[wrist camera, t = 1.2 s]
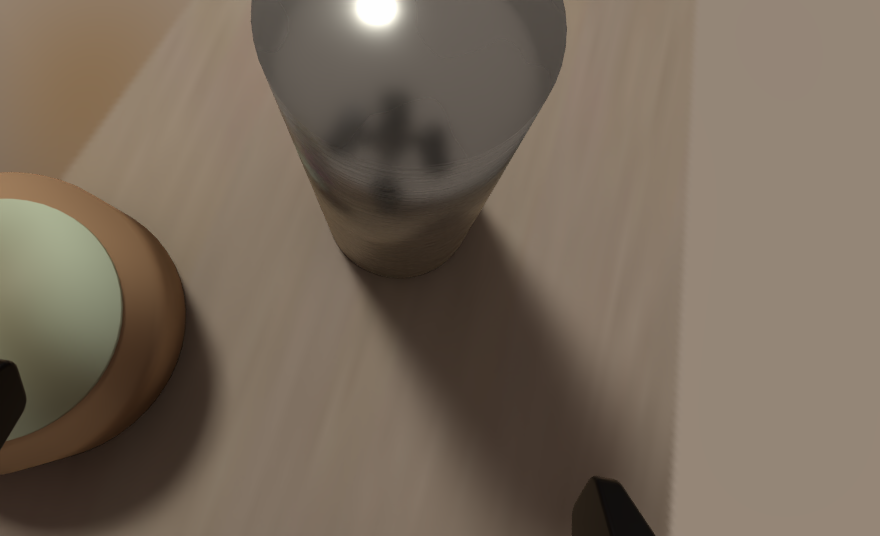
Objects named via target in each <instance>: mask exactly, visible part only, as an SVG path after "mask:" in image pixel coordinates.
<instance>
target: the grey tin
mask: <svg viewBox="0 0 880 536" xmlns="http://www.w3.org/2000/svg"><path fill="white" fill-rule="evenodd" d="M251 25H252V33H253V41H254V44H255V48H256V52H257V55H258V59H259V62H260V64H261V66H262V69H263V71H264V74H265V76H266V78H267V81H268V83H269V85H270V88H271V90H272V93H273V95H274V97H275V100H276V102H277V104H278V107H279V109H280V112H281V114H282V116H283V119H284V121H285V124H286V126H287V128H288V131H289V133H290V135H291V138H292V140H293V143H294V145H295V147H296V150H297V152H298V154H299V157H300V159H301V162H302V164H303V166H304V169H305V171H306V173H307V176H308V178H309V181H310V183H311V185H312V188H313V190H314V192H315V195H316V197H317V200H318V202H319V204H320V207H321V209H322V211H323V214H324V216H325V219H326V221H327V223H328V226H329V228H330V230H331V233H332V235H333V237H334V240H335V241H336V243H337V244H338V246H339V248H340V249H341V250H342V251H343V253H344V254H345V255H346V256H347V257H348V258H349V259H350V260H351V261H353V262H354V263H355V264H357V265H358V266H359V267H361V268H363V269H365V270H367V271H369V272H371V273H374V274H377V275H380V276H385V277H391V278H408V277H415V276H418V275H422V274H425V273H427V272H430V271H432V270H434V269H436V268H437V267H439V266H441V265H442V264H443V263H445V262H446V261H447V260H448V259H449V258H450V257H451V256H452V255H453V254H454V253H455V252H456V250H457V249H458V248H459V246H460V245H461V243H462V241H463V240H464V238H465V236H466V235H467V233H468V231H469V230H470V228H471V226H472V224H473V223H474V221H475V219H476V218H477V216H478V214H479V213H480V211H481V209H482V208H483V206H484V204H485V202H486V201H487V199H488V197H489V196H490V194H491V192H492V191H493V189H494V187H495V186H496V184H497V182H498V180H499V179H500V177H501V175H502V174H503V172H504V170H505V169H506V167H507V165H508V164H509V162H510V160H511V158H512V157H513V155H514V153H515V152H516V150H517V148H518V147H519V145H520V143H521V142H522V140H523V138H524V136H525V135H526V133H527V131H528V130H529V128H530V126H531V125H532V123H533V121H534V120H535V118H536V116H537V114H538V113H539V111H540V109H541V108H542V106H543V104H544V103H545V101H546V99H547V97H548V96H549V94H550V92H551V90H552V88H553V86H554V84H555V83H556V80H557V77H558V74H559V72H560V69H561V66H562V62H563V57H564V52H565V48H566V32H567V26H566V14H565V7H564V3H563V0H252V6H251Z"/></svg>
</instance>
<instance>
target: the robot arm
mask: <svg viewBox="0 0 880 536" xmlns="http://www.w3.org/2000/svg"><path fill="white" fill-rule="evenodd" d="M26 401H27V397H26V393H25V389H24V386H23V383H22V380H21V377H20V373H19V370H18V367H17V365H16V364H15V363H14V362H13V361H10V360H5V359H0V450H1V448H2V447H3V445H4V443H5V442H6V440H7V438H8V437H9V435H10V434H11V432H12V430H13V429H14V427H15V425H16V424H17V422H18V420H19V419H20V417H21V415H22V414H23V412H24V409H25V406H26ZM572 536H655V534H654V533H653V531H652V530H651V528H650V527H649V525H648V524H647V522H646V521H645V519H644V518H643V516H642V515H641V513H640V512H639V510H638V509H637V507H636V506H635V504H634V503H633V501H632V500H631V498H630V497H629V495H628V494H627V492H626V491H625V489H624V488H623V486H622V485H621V484H620V483H619V482H618V481H617V480H614V479H610V478H605V477H600V476H593V477H592V478H590V480H589V481H588V483H587V484H586V486H585V488H584V489H583V491H582V493H581V494H580V496H579V498H578V499H577V501H576V503H575V505H574V508H573V513H572Z"/></svg>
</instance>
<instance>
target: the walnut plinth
mask: <svg viewBox="0 0 880 536" xmlns="http://www.w3.org/2000/svg"><path fill="white" fill-rule="evenodd" d="M185 320H186V309H185V298H184V293H183V289H182V284H181V280H180V278H179V275H178V273H177V270H176V267H175V265H174V263H173V262H172V260H171V258H170V256H169V255H168V253H167V251H166V250H165V249H164V247H163V246H162V245H161V243H160V242H159V241H158V239H157V238H156V237H155V236H154V235H153V234H152V233H150V232H149V231H148V230H147V229H146V228H145V227H144V226H143V225H141V224H140V223H138V222H137V221H136V220H134V219H133V218H131V217H130V216H128V215H126V214H125V213H123V212H121V211H119V210H118V209H116V208H114V207H113V206H111V205H109V204H107V203H106V202H104V201H102V200H101V199H99V198H97V197H96V196H94V195H92V194H90V193H88V192H86V191H85V190H83V189H81V188H79V187H77V186H75V185H72V184H70V183H67V182H64V181H62V180H59V179H55V178H51V177H47V176H43V175H37V174H29V173H20V172H19V173H17V172H13V173H12V172H11V173H10V172H9V173H8V172H6V173H5V172H3V173H2V172H1V173H0V359H5V360H10V361H13V362H14V363H15V364H16V365H17V367H18V370H19V373H20V377H21V380H22V383H23V386H24V389H25V393H26V397H27V401H26V406H25V409H24V412H23V414H22V415H21V417H20V419H19V420H18V422H17V424H16V425H15V427H14V429H13V430H12V432H11V434H10V435H9V437H8V438H7V440H6V442H5V443H4V445H3V447H2V448H1V450H0V475H1V474H7V473H13V472H16V471H20V470H23V469H27V468H30V467H34V466H38V465H41V464H45V463H48V462H52V461H55V460H59V459H62V458H66V457H69V456H73V455H76V454H79V453H83V452H85V451H88V450H90V449H92V448H94V447H97V446H99V445H101V444H103V443H105V442H107V441H108V440H110V439H112V438H113V437H115V436H117V435H118V434H120V433H121V432H122V431H124V430H125V429H126V428H128V427H129V426H130V425H132V424H133V423H134V422H135V421H136V420H137V419H138V418H139V417H140V416H141V415H142V414H143V413H145V412H146V411H147V410H148V408H149V407H150V406H151V405H152V403H153V402H154V401H155V400H156V399H157V397H158V396H159V395H160V393H161V392H162V390H163V388H164V387H165V385H166V384H167V382H168V380H169V379H170V376H171V374H172V372H173V370H174V368H175V366H176V364H177V361H178V358H179V354H180V351H181V348H182V344H183V338H184V333H185Z"/></svg>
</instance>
